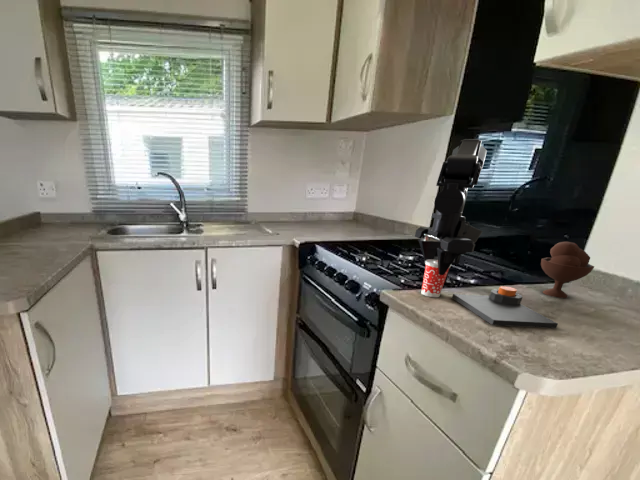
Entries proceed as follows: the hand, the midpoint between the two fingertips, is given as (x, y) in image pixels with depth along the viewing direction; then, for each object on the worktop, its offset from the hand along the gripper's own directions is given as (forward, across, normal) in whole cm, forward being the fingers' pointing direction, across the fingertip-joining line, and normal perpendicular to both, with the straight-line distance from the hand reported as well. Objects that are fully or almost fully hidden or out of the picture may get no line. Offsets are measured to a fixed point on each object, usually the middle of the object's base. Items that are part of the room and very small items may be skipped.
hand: (434, 270), depth 94 cm
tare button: (+4, -5, -16) cm, 18 cm away
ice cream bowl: (+7, +5, -38) cm, 39 cm away
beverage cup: (+7, 0, 0) cm, 7 cm away
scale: (+6, -11, -12) cm, 18 cm away
